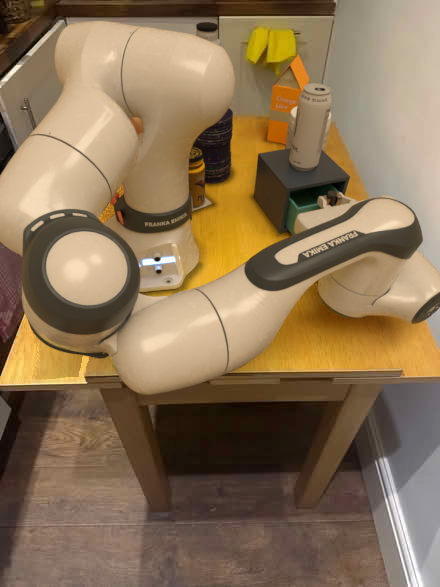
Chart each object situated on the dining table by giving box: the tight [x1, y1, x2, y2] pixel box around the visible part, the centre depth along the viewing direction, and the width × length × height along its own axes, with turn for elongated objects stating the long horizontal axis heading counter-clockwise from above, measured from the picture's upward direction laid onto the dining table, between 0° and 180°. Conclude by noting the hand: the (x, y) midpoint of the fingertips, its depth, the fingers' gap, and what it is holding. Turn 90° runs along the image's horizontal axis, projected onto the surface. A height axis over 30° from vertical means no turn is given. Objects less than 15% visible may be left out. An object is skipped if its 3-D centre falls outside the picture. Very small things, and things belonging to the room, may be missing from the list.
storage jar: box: [192, 107, 234, 185], centre depth 96 cm, size 10×10×15 cm
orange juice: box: [266, 53, 310, 145], centre depth 108 cm, size 8×9×20 cm
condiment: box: [189, 147, 213, 211], centre depth 88 cm, size 7×8×12 cm
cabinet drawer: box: [285, 183, 339, 236], centre depth 85 cm, size 16×11×10 cm
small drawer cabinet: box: [253, 148, 351, 234], centre depth 88 cm, size 14×14×11 cm
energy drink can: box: [289, 82, 333, 171], centre depth 78 cm, size 6×6×15 cm
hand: (328, 197), depth 78 cm, fingers closed on cabinet drawer, 2 cm apart
